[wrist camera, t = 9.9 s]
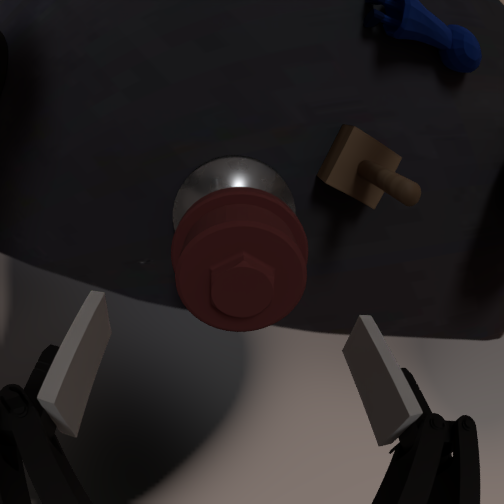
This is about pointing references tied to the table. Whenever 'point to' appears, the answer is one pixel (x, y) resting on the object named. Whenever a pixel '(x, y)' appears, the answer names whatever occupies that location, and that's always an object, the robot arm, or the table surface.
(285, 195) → the grey round disc
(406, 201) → the brown wooden peg block
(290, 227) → the mechanical component
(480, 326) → the table surface
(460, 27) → the toy
